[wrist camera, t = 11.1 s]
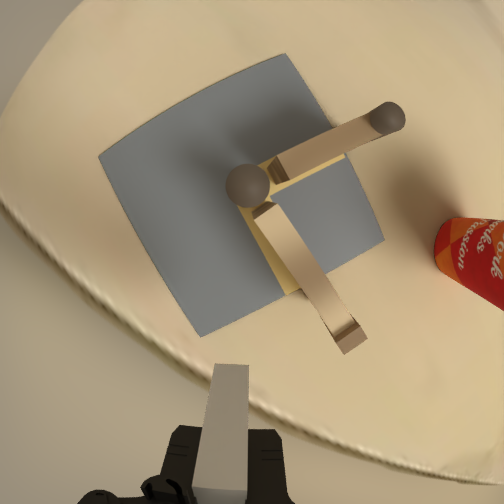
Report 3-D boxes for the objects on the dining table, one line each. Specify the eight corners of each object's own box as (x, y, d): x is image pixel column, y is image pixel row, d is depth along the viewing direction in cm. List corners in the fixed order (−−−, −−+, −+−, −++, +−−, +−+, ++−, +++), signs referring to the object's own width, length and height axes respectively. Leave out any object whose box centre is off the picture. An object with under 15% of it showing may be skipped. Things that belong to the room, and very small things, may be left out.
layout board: (99, 157, 20) (97, 156, 20) (285, 54, 19) (285, 52, 19) (200, 335, 23) (200, 337, 23) (383, 239, 22) (385, 240, 22)
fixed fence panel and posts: (228, 184, 21) (217, 177, 13) (344, 126, 20) (394, 95, 12) (241, 207, 22) (238, 215, 13) (356, 149, 21) (411, 128, 12)
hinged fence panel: (250, 212, 21) (252, 222, 13) (268, 200, 21) (281, 202, 13) (314, 306, 22) (344, 354, 15) (331, 294, 22) (367, 338, 15)
